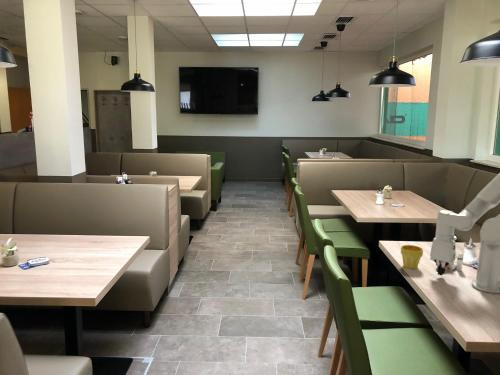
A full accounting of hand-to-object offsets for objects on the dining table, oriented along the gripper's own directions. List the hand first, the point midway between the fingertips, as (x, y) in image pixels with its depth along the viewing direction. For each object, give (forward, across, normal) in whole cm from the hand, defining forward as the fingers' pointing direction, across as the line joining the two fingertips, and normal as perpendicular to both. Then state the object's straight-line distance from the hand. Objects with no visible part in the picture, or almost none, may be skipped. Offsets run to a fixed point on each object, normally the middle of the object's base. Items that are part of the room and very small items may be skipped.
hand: (440, 274), depth 192 cm
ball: (-2, +4, -12) cm, 12 cm away
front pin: (0, 0, -13) cm, 13 cm away
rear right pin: (+2, -2, -16) cm, 17 cm away
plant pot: (+2, +16, -3) cm, 16 cm away
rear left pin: (+2, +2, -16) cm, 17 cm away
